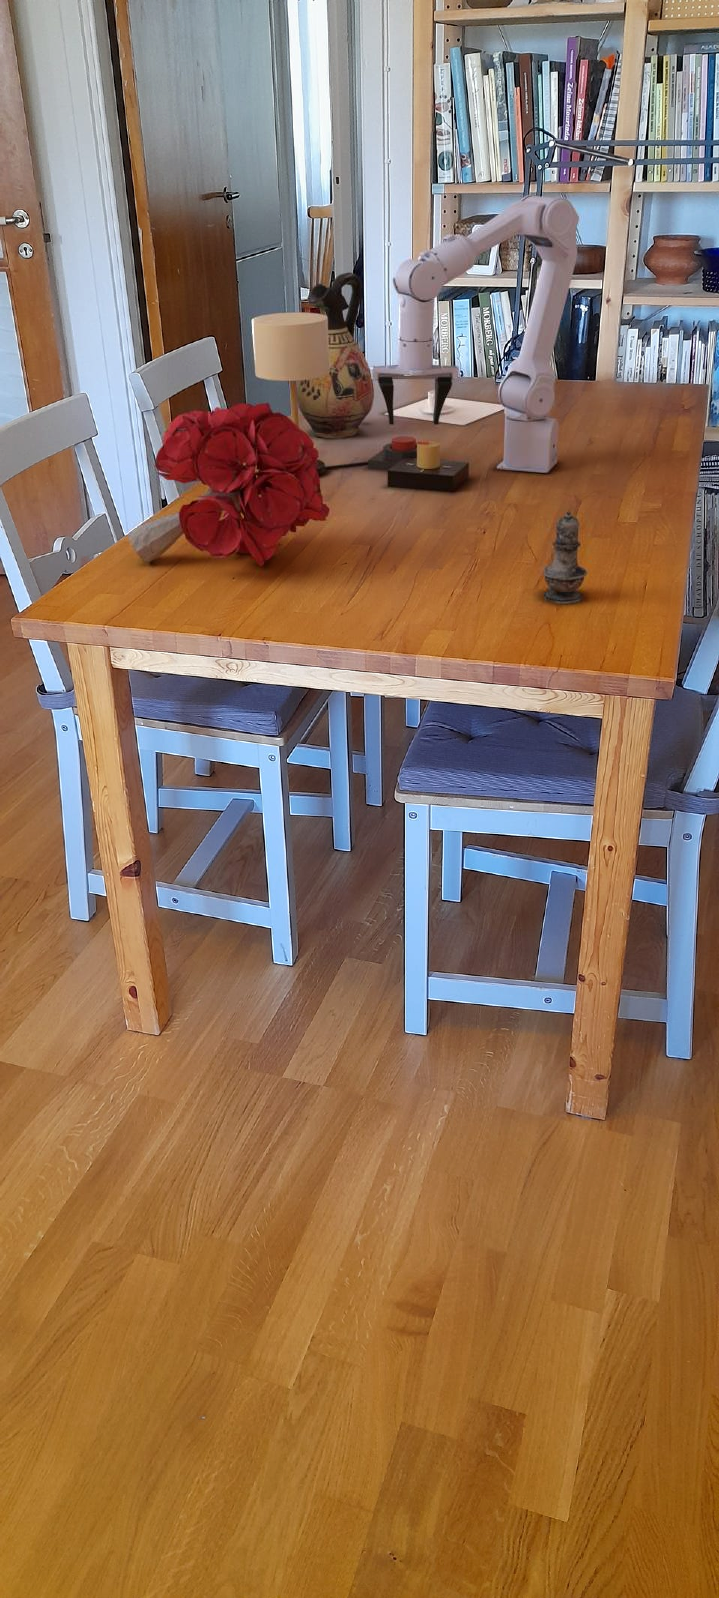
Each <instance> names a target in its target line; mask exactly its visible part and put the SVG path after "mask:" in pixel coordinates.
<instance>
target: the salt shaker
mask: <svg viewBox="0 0 719 1598" xmlns="http://www.w3.org/2000/svg"><path fill="white" fill-rule="evenodd" d="M571 514H572V512H571V510H570V509H567V510H566V511H565V515H564V516H561V517H559V518H558V519H557V521H556V526H555V527H556V528H555V529H556V530H555V540H554V541H553V542H552V546H553V547H554V550H553V552H554V554H553V560H552V564H550V565H548V566H545V567H544V568H543V569H542V574H543V575H544V581H545V583H546V585H547V587H549V590H546V591H545V592H544V593H543V595H542V598H543V599H544V600H546V602H547V601H548V602H549V603H554V604H559V605H569V604H575V603H579V602H580V601H582V600H583V598H584V596H583V594H582V593H581V592H580V591H578V589H579V588H580V587H581V586H582V585H583V582H584V580H585V577H586V576H587V574H588V571H587V569H585V568H584V567H583V566H581V565H579V563H578V551H579V549H578V548H579V547H580V546H581V542H580V541H579V529H580V528H579V526H580V522H579V520H578V518H576V517H575V516H573V515H571Z"/></svg>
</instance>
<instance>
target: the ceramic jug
mask: <svg viewBox="0 0 719 1598" xmlns="http://www.w3.org/2000/svg"><path fill="white" fill-rule="evenodd" d="M346 285H347V286H350V287H351V293H350V294H351V295H350V300H349V303H348V302H347V300H346V297H345V296H344V295H343V294H342V293H343V290H342V289H343V287H345V286H346ZM362 294H363V284H362V281H361V279H360V277H359V276H358V275H356V274H355V273H353V272H344V273H340V274H339V275H337V276H336V277H335V278H334V280H333V282H332V286H331V287H330V286H328V287H327V286H325V285H323V284H322V283H317V284H315V285H314V286H313V287H312V288H311V290H310V291H309V293H308V295H307V302H308V303H307V304H308V305H310V306H311V307H315V308H317V309H319V310H321V311H323V312H325V313H326V316H327V317H328V339H329V367H330V372H329V374H327V375H325V376H323V377H319V378H315V379H308V380H298V381H297V403H298V410H299V411H300V413H301V415H302V417H303V418H304V419H305V420H306V422H307V423H308V425H309V426H310V428H311V430H312V435H313V436H314V437H315V438H324V439H343V438H349V437H352V436H355V435H356V434H357V433H358V431H359V427H360V425H361V424H362V422H364V420H365V418H367V416H368V415H370V412H371V410H372V408H373V405H374V399H375V389H374V380H372V378H371V368H370V367H369V363H368V361H367V359H366V356H365V355H364V353H363V352H362V349H361V348H360V346H359V345H358V343H357V342H356V340H355V324H356V322H357V318H358V312H359V308H360V305H361V301H362V296H363V295H362ZM345 310H347V312H346V316H345V317H344V312H343V311H345Z"/></svg>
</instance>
